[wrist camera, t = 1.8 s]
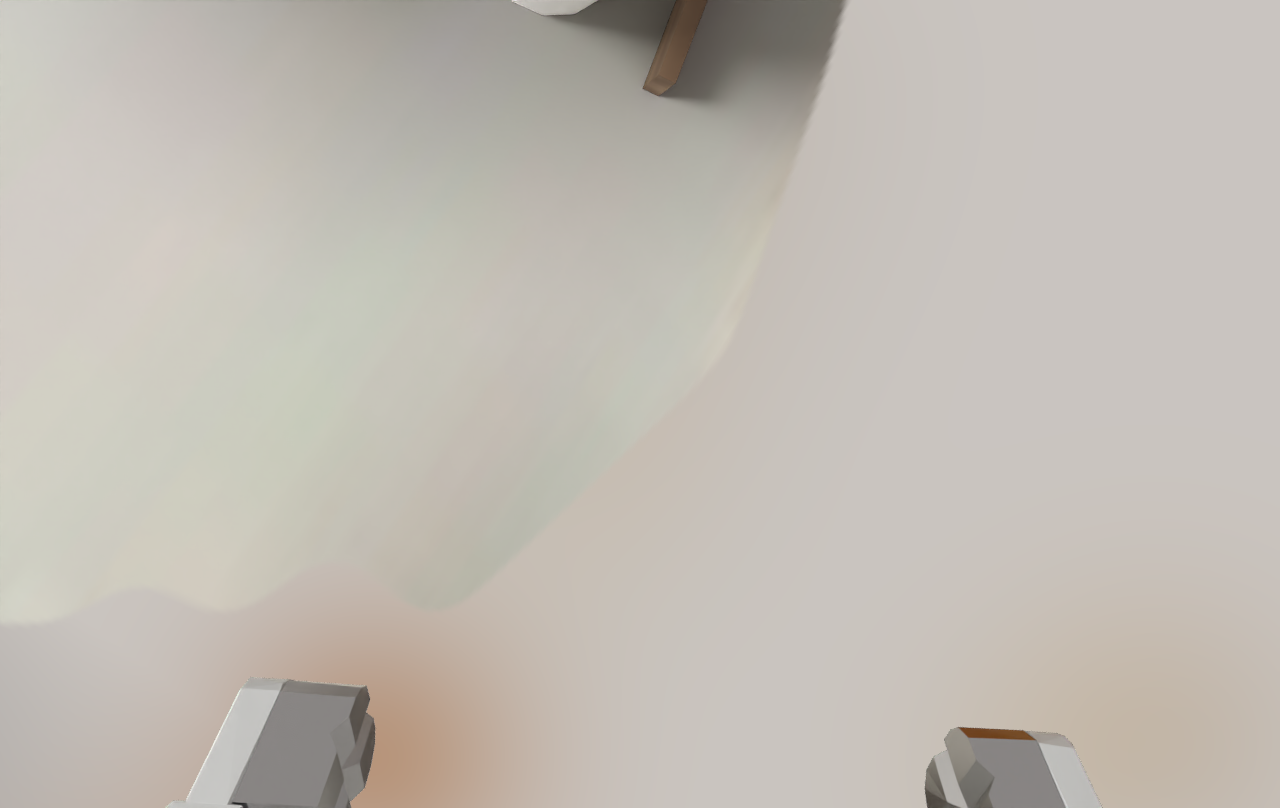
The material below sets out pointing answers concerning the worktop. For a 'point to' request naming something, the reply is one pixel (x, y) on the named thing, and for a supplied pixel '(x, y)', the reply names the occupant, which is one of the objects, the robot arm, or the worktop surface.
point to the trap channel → (674, 45)
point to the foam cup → (555, 6)
